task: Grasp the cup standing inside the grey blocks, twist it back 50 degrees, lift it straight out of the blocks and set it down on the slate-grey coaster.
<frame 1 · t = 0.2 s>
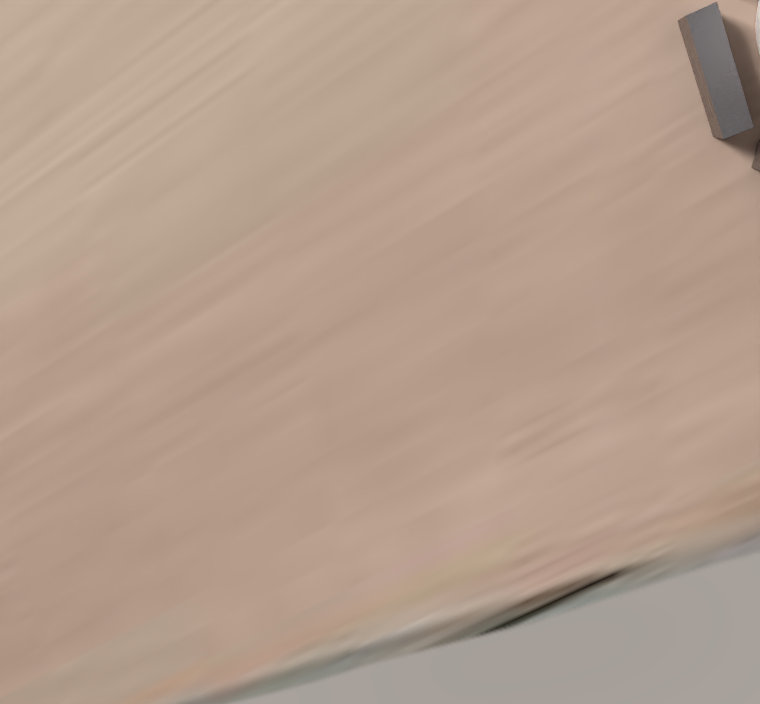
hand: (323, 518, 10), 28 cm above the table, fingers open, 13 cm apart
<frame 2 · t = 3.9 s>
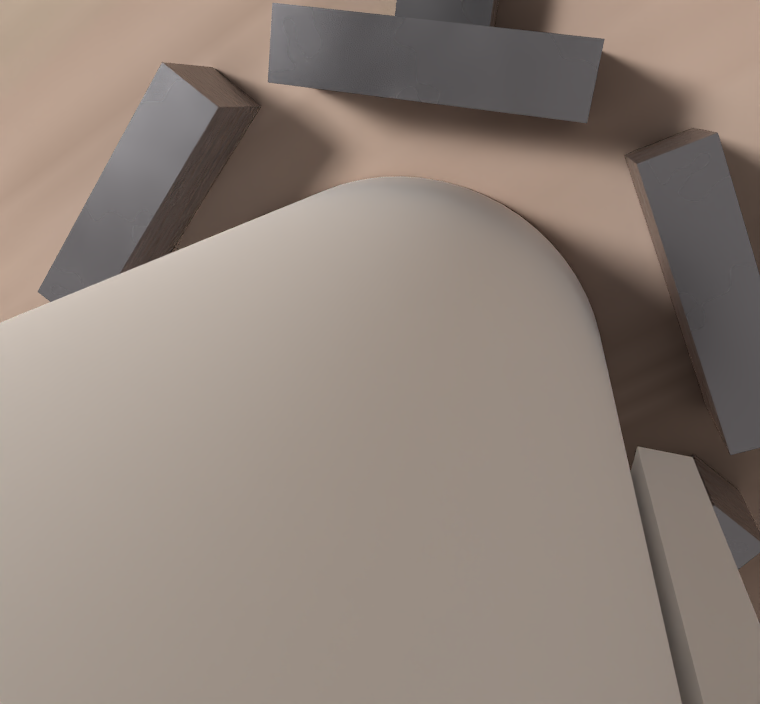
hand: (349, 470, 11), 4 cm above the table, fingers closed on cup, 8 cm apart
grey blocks: (401, 374, 15), on the table
cup: (402, 371, 16), resting in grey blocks, touching gripper
when the fingers open (6 cm above the table, at t = 10.8 s): cup stays where it is, resting on coaster.
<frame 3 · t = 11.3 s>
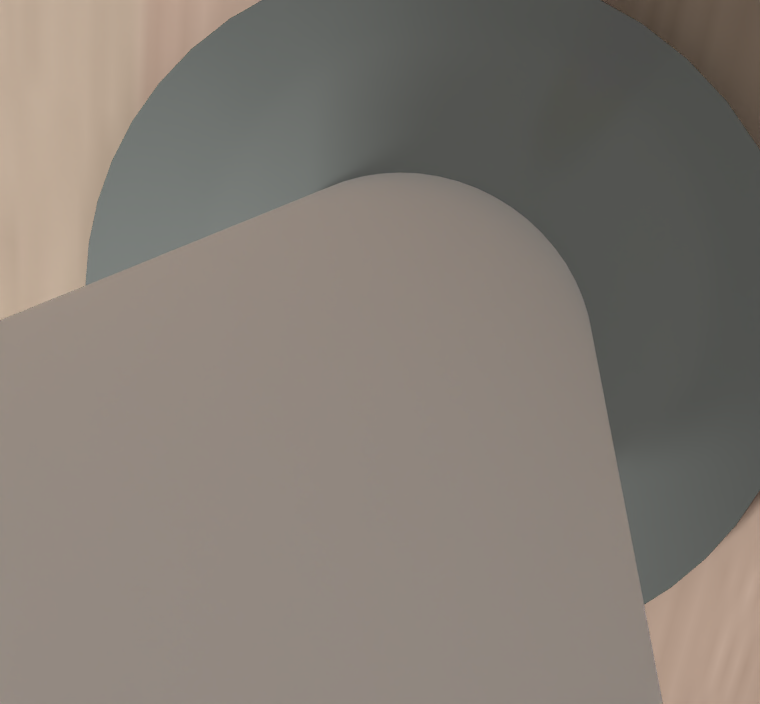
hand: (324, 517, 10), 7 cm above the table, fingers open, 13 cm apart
coaster: (414, 348, 17), on the table
cup: (404, 357, 17), point 1 cm above the table, touching coaster
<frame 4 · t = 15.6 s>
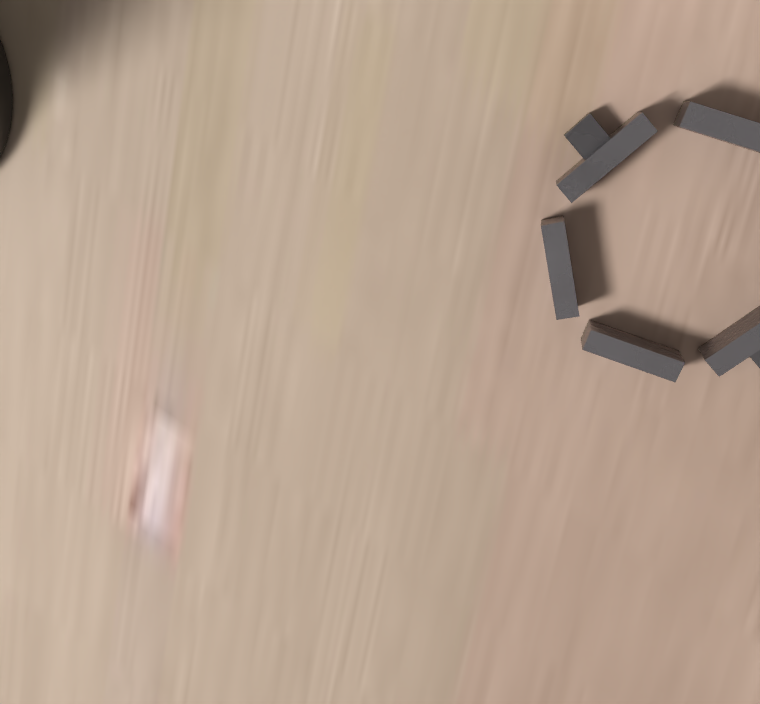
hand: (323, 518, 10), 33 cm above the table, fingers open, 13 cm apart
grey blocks: (676, 243, 39), on the table
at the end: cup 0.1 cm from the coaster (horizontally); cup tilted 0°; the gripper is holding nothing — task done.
